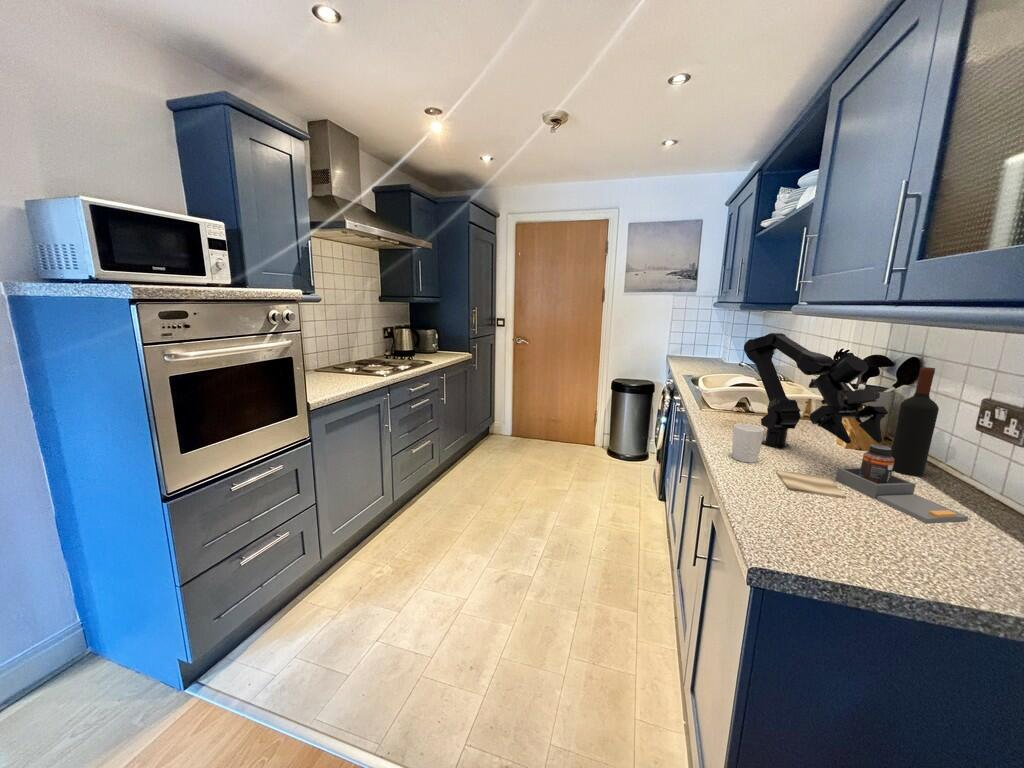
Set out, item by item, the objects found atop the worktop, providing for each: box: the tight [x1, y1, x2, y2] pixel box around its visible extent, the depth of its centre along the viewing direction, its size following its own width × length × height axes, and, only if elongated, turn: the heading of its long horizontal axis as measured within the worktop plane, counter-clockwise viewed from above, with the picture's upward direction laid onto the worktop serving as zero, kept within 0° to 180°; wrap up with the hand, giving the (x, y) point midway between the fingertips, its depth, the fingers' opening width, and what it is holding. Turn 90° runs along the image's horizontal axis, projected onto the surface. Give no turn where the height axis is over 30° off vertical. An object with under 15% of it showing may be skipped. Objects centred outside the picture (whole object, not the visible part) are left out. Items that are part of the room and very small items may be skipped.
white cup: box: [731, 423, 765, 464], centre depth 121 cm, size 8×8×10 cm
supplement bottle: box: [859, 443, 894, 484], centre depth 103 cm, size 6×6×11 cm
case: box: [835, 466, 969, 524], centre depth 98 cm, size 22×11×4 cm, turn 7°
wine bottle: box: [890, 366, 940, 477], centre depth 113 cm, size 8×8×30 cm
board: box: [775, 469, 847, 499], centre depth 105 cm, size 12×12×1 cm
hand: (864, 442), depth 106 cm, fingers open, 9 cm apart
